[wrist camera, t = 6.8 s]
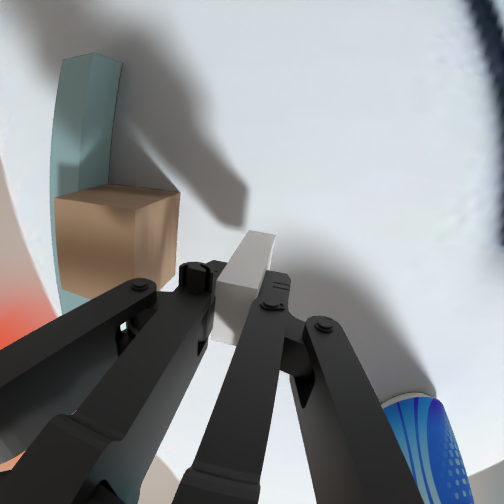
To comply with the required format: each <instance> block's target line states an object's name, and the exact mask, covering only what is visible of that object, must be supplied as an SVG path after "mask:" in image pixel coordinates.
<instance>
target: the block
mask: <svg viewBox="0 0 504 504" xmlns="http://www.w3.org/2000/svg"><path fill="white" fill-rule="evenodd" d="M179 204H180V192H173V191H165V190H158V189H150V188H142V187H134V186H126V185H117V184H105V185H100V186H96V187H92V188H88V189H85V190H81V191H77V192H73V193H70V194H66V195H62V196H59V197H55V198H54V217H55V234H56V247H57V257H58V266H59V274H60V282H61V289H63V290H65V291H68V292H71V293H74V294H76V295H79V296H82V297H85V298H87V299H90V300H92V299H93V298H95V297H97V296H99V295H101V294H103V293H105V292H107V291H109V290H110V289H112V288H114V287H116V286H118V285H120V284H122V283H124V282H126V281H128V280H131V279H134V278H146V279H149V280H152V281H153V282H155V283H156V285H157V291H159V290H160V289H161V288H162V287H163V286H164V285H165V284H166V283H167V282H168V281H169V280H170V279H171V278H172V277H173V276H174V275H175V267H176V247H177V230H178V216H179Z"/></svg>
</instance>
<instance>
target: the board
mask: <svg viewBox="0 0 504 504" xmlns="http://www.w3.org/2000/svg"><path fill="white" fill-rule="evenodd" d="M121 68H122V63H121V62H119V61H116V60H113V59H110V58H108V57H105V56H102V55H99V54H96V53H91V54H86V55H81V56H77V57H73V58H69V59H65V60H63V63H62V68H61V73H60V78H59V83H58V89H57V96H56V103H55V110H54V119H53V128H52V140H51V156H50V217H51V234H52V246H53V256H54V265H55V273H56V280H57V286H58V293H59V299H60V304H61V310H62V315H64V314H66V313H67V312H69V311H71V310H73V309H75V308H77V307H79V306H80V305H82V304H84V303H86V302H88V301H90V299H87V298H85V297H82V296H79V295H76V294H74V293H71V292H68V291H65V290H63V289H61V282H60V274H59V266H58V257H57V247H56V234H55V217H54V198H55V197H59V196H62V195H66V194H70V193H73V192H77V191H81V190H85V189H88V188H92V187H96V186H100V185H105V184H108V177H109V161H110V148H111V137H112V128H113V119H114V111H115V104H116V97H117V91H118V85H119V79H120V74H121Z"/></svg>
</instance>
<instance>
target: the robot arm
mask: <svg viewBox="0 0 504 504" xmlns="http://www.w3.org/2000/svg"><path fill="white" fill-rule="evenodd" d="M275 237H276V235H273V234H268V233H262V232H257V231H252V230H249V231H248V233H247V234H246V236H245V237H244V239H243V240H242V242H241V243H240V245H239V246H238V248H237V249H236V251H235V253H234V254H233V256H232V257H231V259H230V260H229V262H228V263H226V262H221V261H216V260H213V261H211V262H208V263H206V264H204V263H200V262H187V263H183V264H182V265H180V266H179V286H178V287H177V288H176V289H175V290H174V291H173V292H162V291H157V285H156V283H155V282H153V281H152V280H149V279H146V278H134V279H131V280H128V281H126V282H124V283H122V284H120V285H118V286H116V287H114V288H112V289H110V290H109V291H107V292H105V293H103V294H101V295H99V296H97V297H95V298H93V299H92V300H90V301H88V302H86V303H84V304H82V305H80V306H79V307H77V308H75V309H73V310H71V311H69V312H67V313H66V314H64V315H62V316H60V317H58V318H56V319H55V320H53V321H51V322H49V323H47V324H46V325H44V326H42V327H41V328H38V329H37V330H35V331H33V332H31V333H29V334H28V335H26V336H24V337H22V338H21V339H19V340H17V341H15V342H14V343H12V344H10V345H9V346H7V347H5V348H3V349H2V350H0V464H2V463H4V462H7V461H8V460H11V459H13V458H15V457H16V456H18V455H19V454H20V453H22V452H24V451H25V450H26V451H25V453H24V454H23V455H22V457H21V458H20V459H19V460H18V462H17V463H16V465H15V466H14V467H13V468H12V470H8V471H3V472H0V504H137V503H138V500H139V495H140V487H141V484H142V481H143V479H144V477H145V475H146V473H147V471H148V469H149V467H150V464H151V463H152V461H153V459H154V456H155V454H156V452H157V450H158V448H159V446H160V444H161V442H162V440H163V438H164V436H165V434H166V432H167V430H168V428H169V425H170V423H171V421H172V419H173V417H174V415H175V413H176V411H177V409H178V407H179V405H180V403H181V401H182V399H183V396H184V394H185V392H186V390H187V388H188V386H189V384H190V382H191V380H192V378H193V376H194V374H195V372H196V370H197V367H198V365H199V363H200V361H201V359H202V357H203V355H204V353H205V351H206V349H207V345H208V336H209V334H210V333H211V340H214V341H218V342H222V343H226V344H230V345H235V346H237V347H236V349H235V352H234V355H233V358H232V360H231V363H230V366H229V369H228V371H227V374H226V377H225V379H224V382H223V385H222V388H221V390H220V393H219V396H218V398H217V401H216V404H215V406H214V409H213V412H212V414H211V417H210V420H209V422H208V425H207V428H206V430H205V433H204V436H203V438H202V441H201V444H200V446H199V449H198V451H197V454H196V457H195V459H194V462H193V464H192V466H191V467H190V468H188V469H187V470H186V472H185V473H184V475H183V477H182V480H181V482H180V484H179V487H178V489H177V492H176V494H175V497H174V500H173V502H172V504H258V500H259V494H260V476H261V471H262V466H263V461H264V456H265V451H266V446H267V441H268V435H269V430H270V424H271V418H272V413H273V407H274V401H275V395H276V389H277V383H278V377H279V370H281V371H283V372H286V373H288V374H290V384H291V389H292V393H293V397H294V402H295V406H296V411H297V415H298V420H299V424H300V429H301V433H302V438H303V442H304V447H305V451H306V456H307V460H308V465H309V469H310V474H311V479H312V483H313V488H314V492H315V497H316V502H317V504H424V501H423V499H422V496H421V494H420V492H419V489H418V487H417V484H416V482H415V480H414V477H413V475H412V473H411V470H410V468H409V466H408V463H407V461H406V459H405V457H404V454H403V452H402V450H401V448H400V445H399V443H398V441H397V439H396V437H395V434H394V432H393V430H392V428H391V426H390V424H389V422H388V419H387V417H386V415H385V413H384V411H383V409H382V407H381V405H380V403H379V400H378V398H377V396H376V394H375V392H374V390H373V388H372V386H371V384H370V382H369V380H368V378H367V376H366V374H365V372H364V370H363V368H362V366H361V364H360V362H359V360H358V358H357V356H356V354H355V352H354V350H353V348H352V346H351V344H350V342H349V340H348V338H347V336H346V334H345V333H344V331H343V329H342V327H341V326H340V324H339V323H338V322H336V321H335V320H333V319H331V318H328V317H325V316H313V317H310V318H308V319H307V321H306V322H303V321H301V320H299V319H297V318H295V317H294V316H292V315H291V314H290V313H289V311H288V298H289V290H290V283H291V279H290V278H289V276H288V275H287V274H284V273H279V272H274V271H269V270H270V264H271V259H272V253H273V248H274V242H275ZM124 322H126V329H125V330H123V331H121V329H120V325H121V324H123V323H124ZM211 331H212V332H211ZM76 410H77V411H76ZM75 411H76V412H75ZM74 412H75V413H74ZM72 413H74V414H72ZM71 414H72V415H71Z"/></svg>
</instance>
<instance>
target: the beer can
mask: <svg viewBox="0 0 504 504" xmlns="http://www.w3.org/2000/svg"><path fill="white" fill-rule="evenodd" d="M381 407H382V409H383V411H384V413H385V415H386V417H387V419H388V422H389V424H390V426H391V428H392V430H393V432H394V434H395V437H396V439H397V441H398V443H399V445H400V448H401V450H402V452H403V454H404V457H405V459H406V461H407V463H408V466H409V468H410V470H411V473H412V475H413V477H414V480H415V482H416V484H417V487H418V489H419V492H420V494H421V496H422V499H423V501H424V504H474V500H473V496H472V492H471V488H470V484H469V481H468V477H467V474H466V470H465V467H464V464H463V460H462V457H461V454H460V451H459V448H458V445H457V442H456V439H455V436H454V433H453V430H452V428H451V425H450V422H449V419H448V417H447V414H446V412H445V409H444V406H443V404H442V403H441V402H440V401H439V400H438V399H436V398H434V397H430V396H428V395H427V394H424V393H417V392H414V393H406V394H402V395H399V396H396V397H393V398H391V399H389V400H387V401H386V402H384V403H382V404H381Z"/></svg>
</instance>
